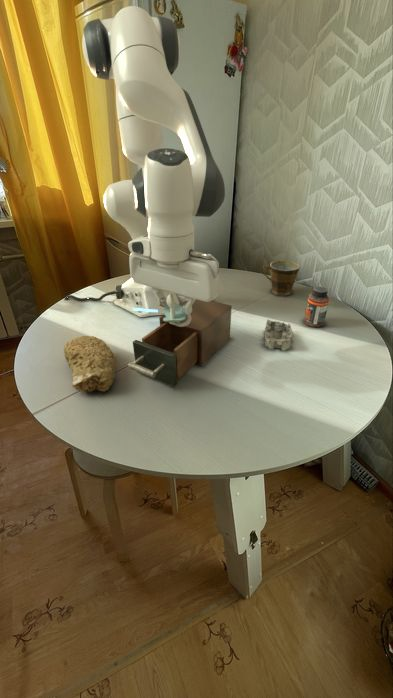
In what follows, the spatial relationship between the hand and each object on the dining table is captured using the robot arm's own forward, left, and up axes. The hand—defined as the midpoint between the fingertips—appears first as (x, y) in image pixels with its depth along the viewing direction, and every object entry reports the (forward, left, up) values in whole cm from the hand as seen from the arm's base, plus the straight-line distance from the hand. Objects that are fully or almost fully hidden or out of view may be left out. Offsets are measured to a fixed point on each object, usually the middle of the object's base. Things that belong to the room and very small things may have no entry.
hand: (174, 309), depth 76 cm
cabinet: (-3, +14, -19) cm, 24 cm away
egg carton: (+15, +28, -19) cm, 37 cm away
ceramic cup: (+3, +59, -19) cm, 62 cm away
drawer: (-3, 0, -18) cm, 18 cm away
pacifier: (+1, -1, -2) cm, 3 cm away
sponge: (-20, -10, -19) cm, 29 cm away
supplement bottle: (+21, +43, -19) cm, 51 cm away
